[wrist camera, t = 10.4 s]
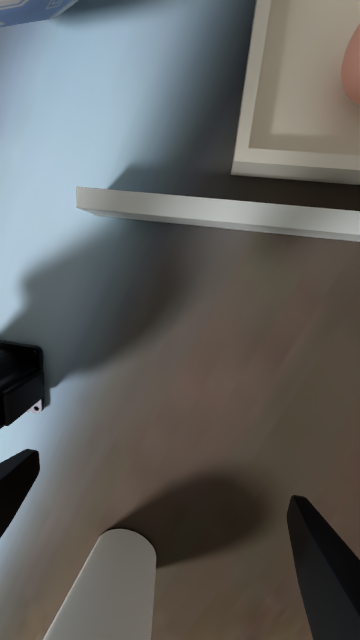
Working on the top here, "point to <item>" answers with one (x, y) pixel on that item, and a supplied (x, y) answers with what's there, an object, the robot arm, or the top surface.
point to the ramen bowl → (31, 10)
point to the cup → (110, 592)
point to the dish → (299, 94)
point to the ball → (352, 67)
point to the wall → (222, 213)
